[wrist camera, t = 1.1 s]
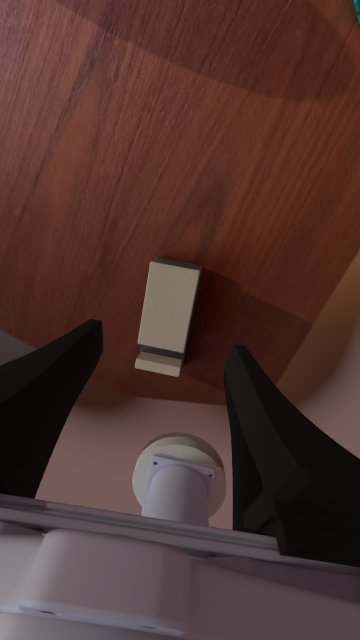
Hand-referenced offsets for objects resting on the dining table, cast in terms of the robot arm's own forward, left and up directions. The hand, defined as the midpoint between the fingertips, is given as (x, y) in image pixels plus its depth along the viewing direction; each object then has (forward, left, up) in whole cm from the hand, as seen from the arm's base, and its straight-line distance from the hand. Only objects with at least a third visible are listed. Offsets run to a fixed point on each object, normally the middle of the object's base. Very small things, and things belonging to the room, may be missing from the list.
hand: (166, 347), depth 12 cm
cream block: (0, +1, -12) cm, 12 cm away
